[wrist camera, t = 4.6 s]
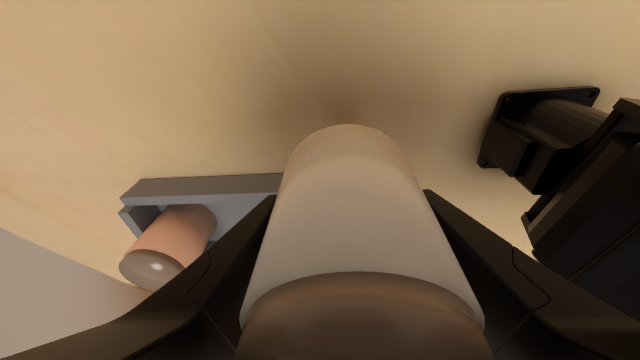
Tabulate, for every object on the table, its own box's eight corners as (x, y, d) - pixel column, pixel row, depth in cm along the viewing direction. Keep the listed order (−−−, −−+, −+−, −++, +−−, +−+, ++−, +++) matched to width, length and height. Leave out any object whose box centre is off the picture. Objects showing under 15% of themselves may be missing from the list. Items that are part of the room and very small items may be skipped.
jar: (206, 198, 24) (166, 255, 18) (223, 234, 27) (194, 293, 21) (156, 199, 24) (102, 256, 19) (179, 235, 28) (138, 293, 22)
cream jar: (418, 119, 9) (575, 319, 3) (401, 223, 12) (462, 416, 6) (274, 128, 9) (178, 312, 4) (294, 226, 12) (260, 407, 7)
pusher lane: (376, 169, 22) (383, 196, 19) (372, 237, 28) (377, 267, 24) (141, 179, 24) (111, 204, 21) (180, 240, 30) (161, 268, 26)
